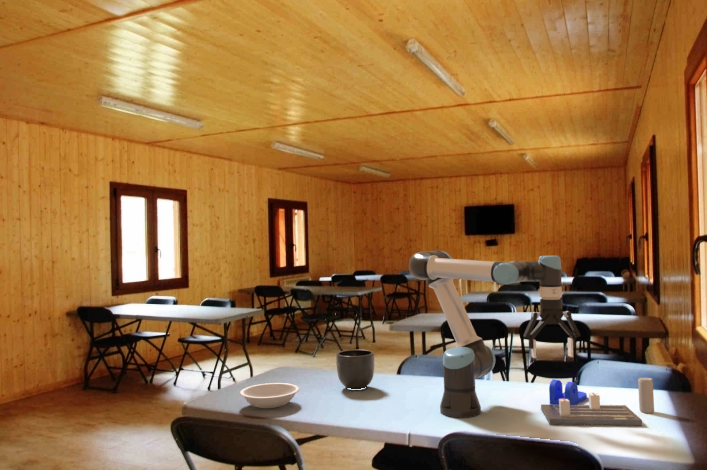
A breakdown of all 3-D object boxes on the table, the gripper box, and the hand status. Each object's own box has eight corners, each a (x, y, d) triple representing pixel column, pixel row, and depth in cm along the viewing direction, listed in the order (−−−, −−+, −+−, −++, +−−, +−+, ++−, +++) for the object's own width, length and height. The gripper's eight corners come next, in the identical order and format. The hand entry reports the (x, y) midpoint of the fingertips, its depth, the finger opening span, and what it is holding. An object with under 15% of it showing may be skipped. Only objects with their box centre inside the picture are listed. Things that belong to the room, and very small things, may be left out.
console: (549, 424, 198) (549, 417, 198) (541, 409, 216) (540, 402, 216) (642, 426, 193) (642, 418, 193) (625, 410, 211) (625, 403, 211)
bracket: (570, 408, 217) (569, 384, 217) (549, 404, 223) (548, 381, 223) (590, 398, 230) (589, 375, 230) (570, 394, 236) (569, 373, 236)
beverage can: (648, 414, 206) (647, 381, 206) (636, 411, 210) (635, 378, 210) (657, 412, 208) (655, 379, 208) (645, 409, 212) (643, 376, 212)
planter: (375, 393, 248) (374, 355, 248) (336, 394, 248) (335, 357, 249) (375, 383, 265) (373, 348, 266) (337, 384, 266) (336, 349, 266)
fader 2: (591, 409, 207) (590, 395, 207) (589, 407, 210) (588, 392, 210) (600, 409, 206) (599, 395, 206) (597, 407, 209) (597, 392, 209)
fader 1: (561, 415, 201) (560, 400, 201) (559, 413, 204) (558, 398, 204) (570, 415, 200) (569, 400, 200) (568, 413, 203) (567, 398, 203)
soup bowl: (228, 408, 232) (227, 391, 233) (274, 395, 250) (274, 380, 250) (265, 418, 216) (264, 401, 216) (312, 404, 234) (311, 388, 234)
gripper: (520, 300, 203) (522, 360, 203) (589, 298, 204) (590, 358, 204) (513, 298, 210) (514, 356, 210) (579, 296, 212) (581, 353, 212)
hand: (552, 357), depth 207 cm, fingers open, 13 cm apart
